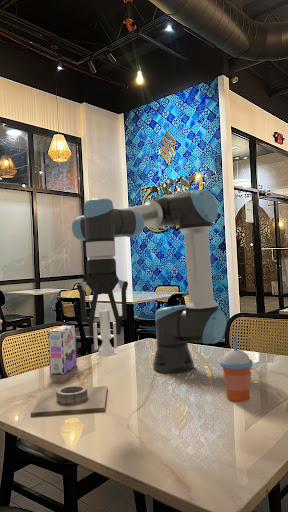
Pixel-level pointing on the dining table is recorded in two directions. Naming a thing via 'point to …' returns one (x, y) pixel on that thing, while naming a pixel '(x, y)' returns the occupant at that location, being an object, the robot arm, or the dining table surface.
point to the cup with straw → (237, 374)
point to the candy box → (62, 349)
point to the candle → (105, 335)
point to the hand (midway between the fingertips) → (105, 347)
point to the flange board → (71, 400)
